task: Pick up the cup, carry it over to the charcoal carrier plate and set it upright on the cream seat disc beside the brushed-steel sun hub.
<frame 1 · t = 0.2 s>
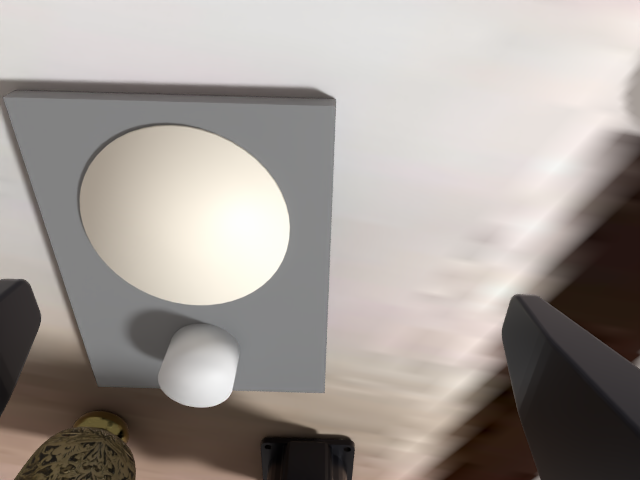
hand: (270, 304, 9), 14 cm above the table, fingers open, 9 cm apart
cup: (106, 420, 35), on the table
carrier plate: (198, 261, 27), on the table
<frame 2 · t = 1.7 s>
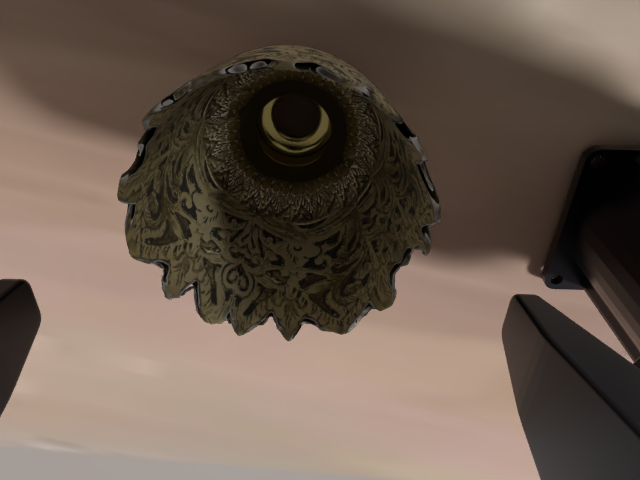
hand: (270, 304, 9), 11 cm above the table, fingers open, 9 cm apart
cup: (296, 113, 18), on the table
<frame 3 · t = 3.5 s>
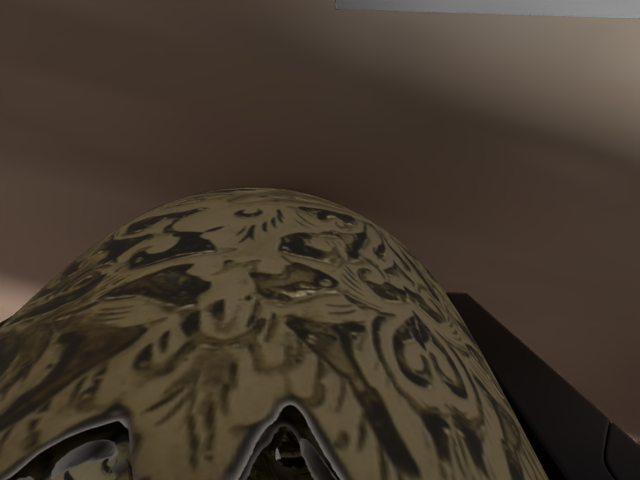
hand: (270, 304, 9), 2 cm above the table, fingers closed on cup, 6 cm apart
cup: (280, 245, 11), on the table, touching gripper
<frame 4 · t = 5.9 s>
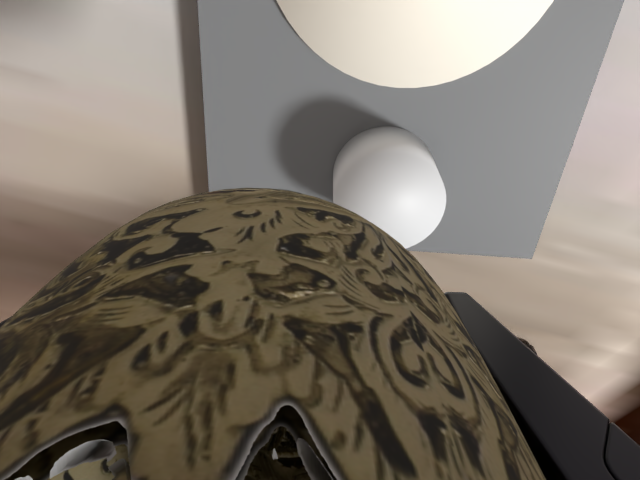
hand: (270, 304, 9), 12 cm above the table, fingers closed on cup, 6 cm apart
cup: (279, 245, 11), point 10 cm above the table, touching gripper
carrier plate: (401, 21, 18), on the table
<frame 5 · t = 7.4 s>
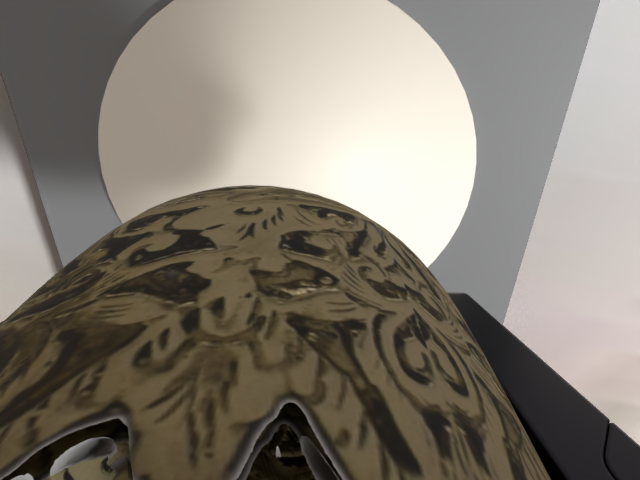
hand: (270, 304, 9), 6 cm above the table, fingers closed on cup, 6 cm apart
cup: (280, 244, 11), point 4 cm above the table, touching gripper
carrier plate: (291, 247, 16), on the table
when the fingers open (4 cm above the table, at t = 8.7 s): cup drops 1 cm, resting on carrier plate.
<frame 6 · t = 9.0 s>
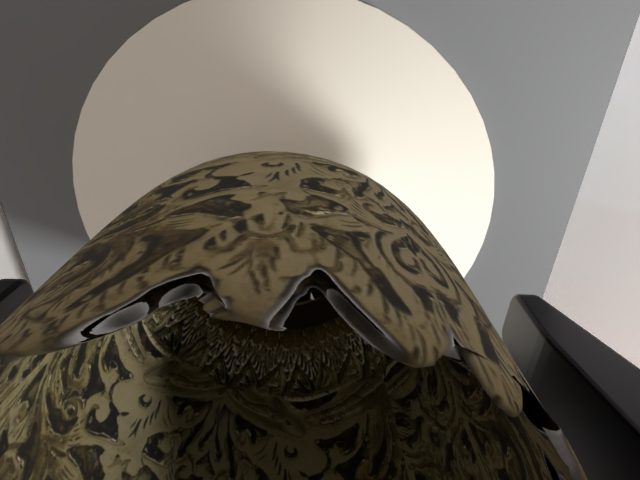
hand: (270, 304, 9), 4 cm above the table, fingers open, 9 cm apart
cup: (289, 216, 12), point 1 cm above the table, touching carrier plate
carrier plate: (288, 282, 15), on the table
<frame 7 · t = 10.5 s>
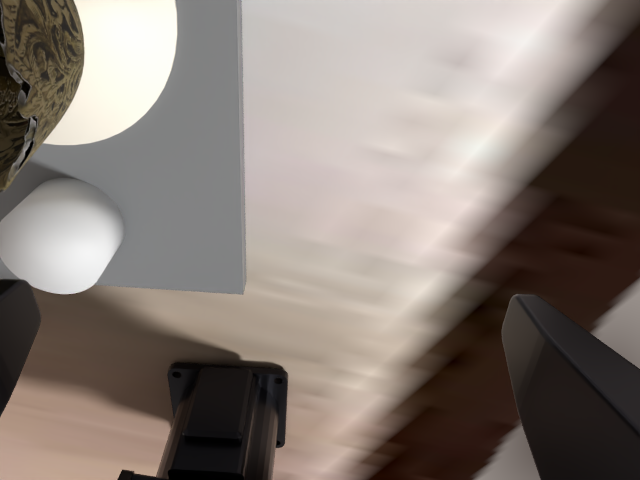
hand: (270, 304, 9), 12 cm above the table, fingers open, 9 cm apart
cup: (31, 6, 17), point 1 cm above the table, touching carrier plate
carrier plate: (60, 83, 19), on the table
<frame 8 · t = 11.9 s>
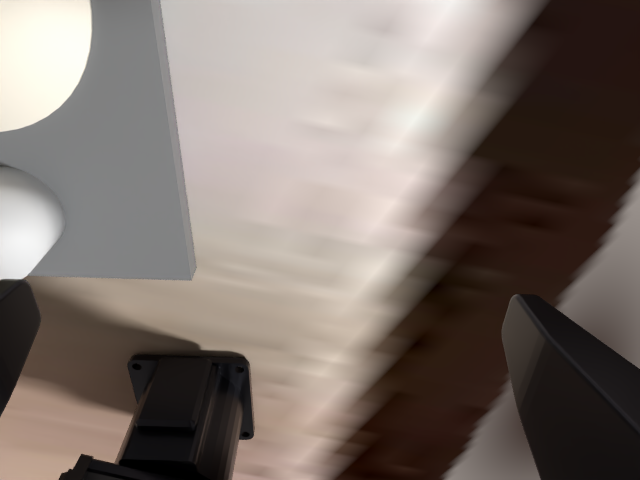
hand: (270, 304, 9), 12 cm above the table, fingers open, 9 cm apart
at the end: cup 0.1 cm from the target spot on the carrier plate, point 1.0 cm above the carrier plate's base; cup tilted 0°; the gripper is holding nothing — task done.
